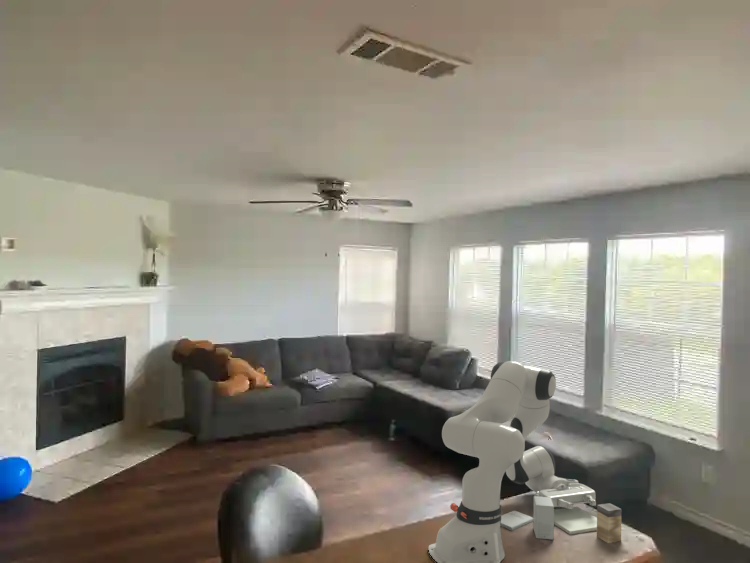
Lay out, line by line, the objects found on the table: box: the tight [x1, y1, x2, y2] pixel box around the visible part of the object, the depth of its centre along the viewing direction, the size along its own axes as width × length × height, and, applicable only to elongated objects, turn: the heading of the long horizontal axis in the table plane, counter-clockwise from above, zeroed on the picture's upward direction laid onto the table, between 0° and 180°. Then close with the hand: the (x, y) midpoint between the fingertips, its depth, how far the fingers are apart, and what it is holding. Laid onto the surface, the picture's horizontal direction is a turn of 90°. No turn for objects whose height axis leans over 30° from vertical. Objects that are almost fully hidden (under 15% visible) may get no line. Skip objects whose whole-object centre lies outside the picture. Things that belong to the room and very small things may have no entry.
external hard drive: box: [500, 510, 534, 531], centre depth 182 cm, size 2×8×12 cm
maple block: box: [596, 502, 623, 544], centre depth 170 cm, size 5×5×10 cm
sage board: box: [554, 506, 597, 535], centre depth 183 cm, size 16×16×1 cm
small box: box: [532, 495, 555, 541], centre depth 173 cm, size 8×6×10 cm
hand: (582, 505), depth 181 cm, fingers open, 8 cm apart
